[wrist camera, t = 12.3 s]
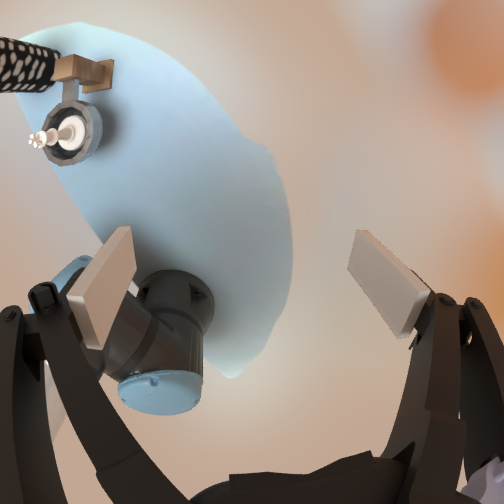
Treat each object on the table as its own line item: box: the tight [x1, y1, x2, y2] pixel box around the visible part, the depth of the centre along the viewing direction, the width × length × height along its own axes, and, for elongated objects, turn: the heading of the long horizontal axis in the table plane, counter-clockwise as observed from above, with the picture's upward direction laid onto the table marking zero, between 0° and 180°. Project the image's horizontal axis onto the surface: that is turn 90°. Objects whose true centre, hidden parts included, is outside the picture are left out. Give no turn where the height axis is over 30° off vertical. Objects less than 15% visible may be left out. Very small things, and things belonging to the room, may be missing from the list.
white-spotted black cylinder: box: [0, 37, 62, 93], centre depth 19 cm, size 8×8×20 cm
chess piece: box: [29, 115, 87, 150], centre depth 23 cm, size 5×5×10 cm
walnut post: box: [53, 54, 114, 93], centre depth 26 cm, size 5×5×12 cm
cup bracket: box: [42, 78, 103, 166], centre depth 26 cm, size 14×9×3 cm, turn 176°
